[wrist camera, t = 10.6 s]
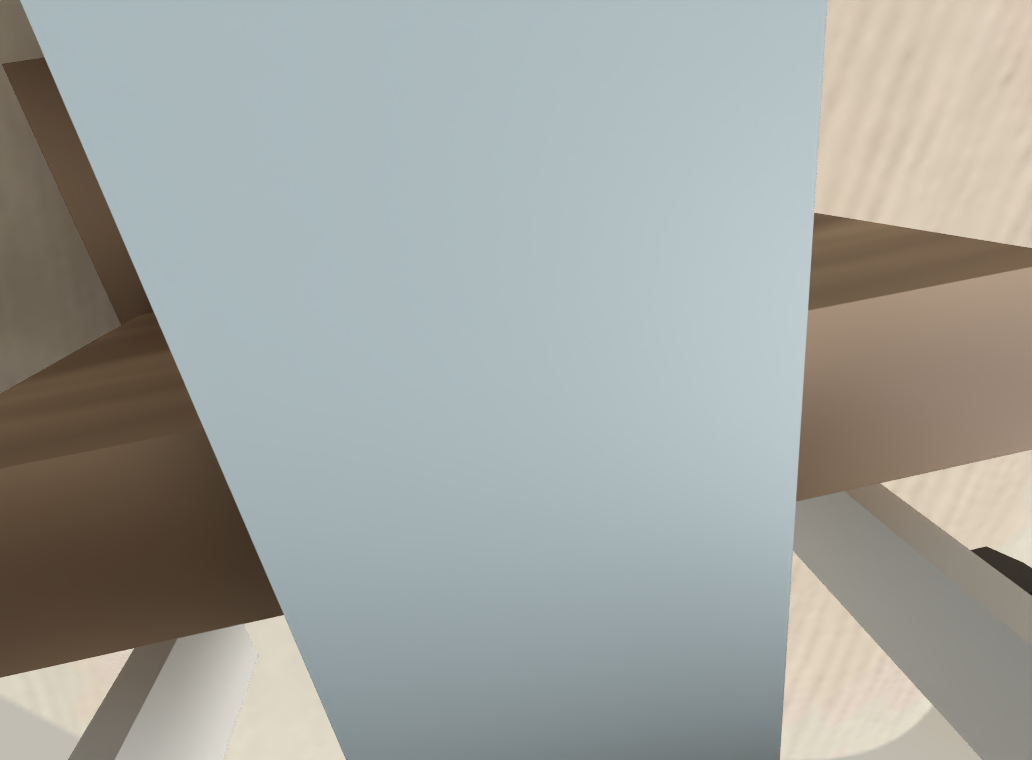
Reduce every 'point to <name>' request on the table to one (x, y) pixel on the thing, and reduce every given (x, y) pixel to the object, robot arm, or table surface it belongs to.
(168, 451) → the walnut stand
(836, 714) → the table surface
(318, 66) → the grey-blue slab
